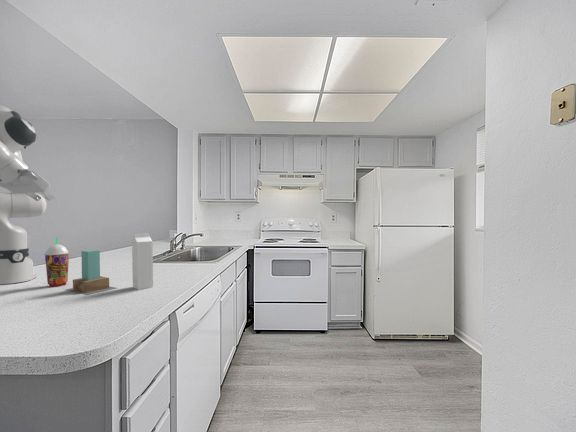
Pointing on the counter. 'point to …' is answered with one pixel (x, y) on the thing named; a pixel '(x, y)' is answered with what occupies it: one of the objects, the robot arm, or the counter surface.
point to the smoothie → (57, 265)
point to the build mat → (92, 291)
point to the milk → (142, 261)
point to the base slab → (90, 284)
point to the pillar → (90, 264)
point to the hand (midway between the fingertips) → (45, 199)
